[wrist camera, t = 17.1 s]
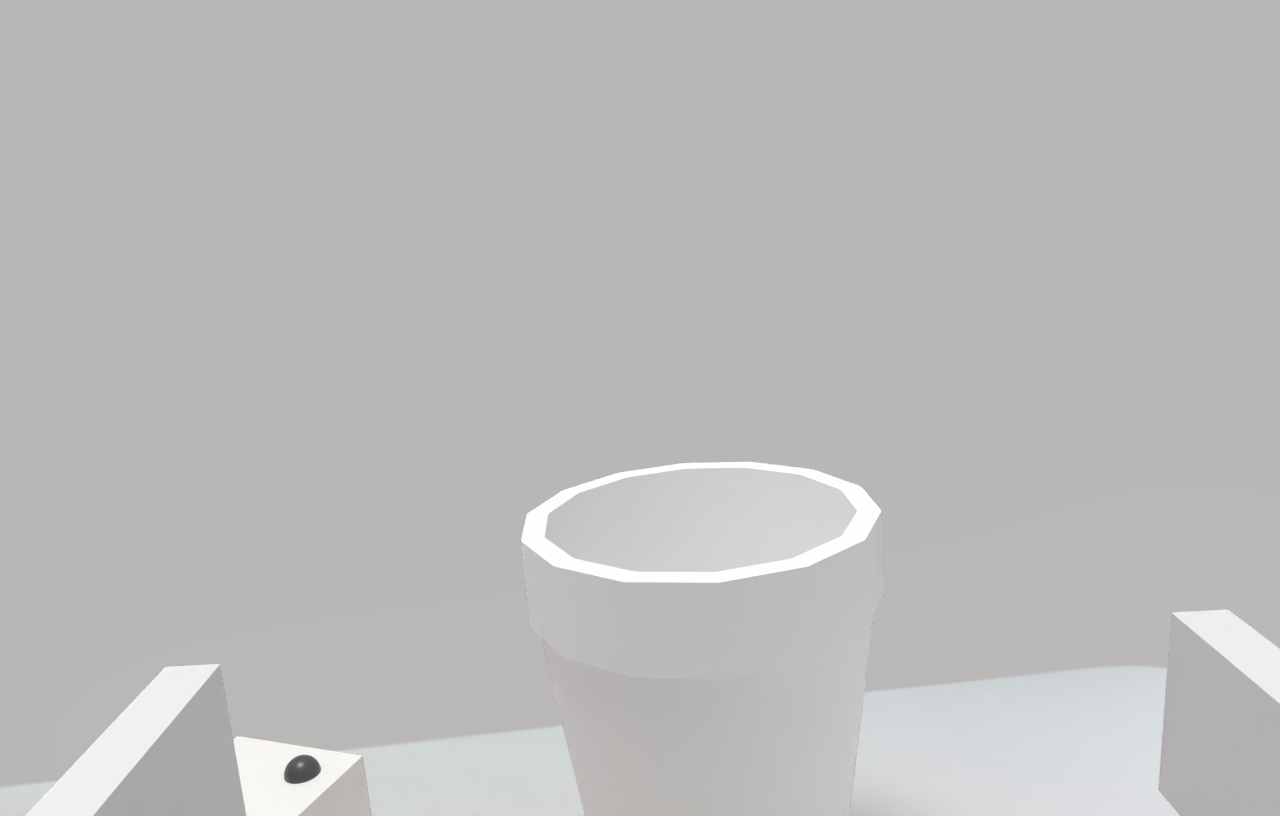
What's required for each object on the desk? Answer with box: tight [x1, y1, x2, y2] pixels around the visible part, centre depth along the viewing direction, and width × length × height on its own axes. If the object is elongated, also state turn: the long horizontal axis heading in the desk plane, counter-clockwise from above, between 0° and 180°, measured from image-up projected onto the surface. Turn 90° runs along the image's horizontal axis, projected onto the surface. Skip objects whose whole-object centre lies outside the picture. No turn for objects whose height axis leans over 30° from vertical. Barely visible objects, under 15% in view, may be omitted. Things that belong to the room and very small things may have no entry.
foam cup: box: [521, 462, 883, 816], centre depth 28 cm, size 10×9×13 cm
